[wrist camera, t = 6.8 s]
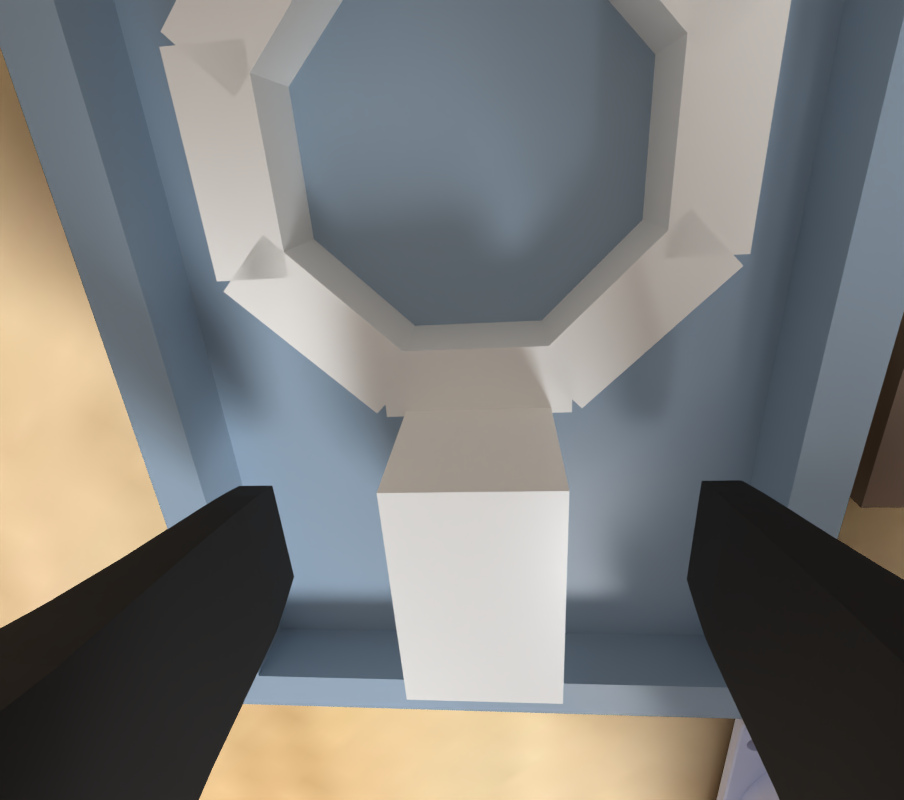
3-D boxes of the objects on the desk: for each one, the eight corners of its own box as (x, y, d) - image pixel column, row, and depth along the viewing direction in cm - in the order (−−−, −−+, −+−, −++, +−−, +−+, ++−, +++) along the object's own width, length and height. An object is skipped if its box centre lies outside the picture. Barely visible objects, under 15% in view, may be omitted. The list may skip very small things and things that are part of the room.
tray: (746, 645, 14) (784, 720, 12) (261, 637, 15) (228, 703, 13) (1062, -752, 5) (1345, -1206, 4) (-70, -511, 7) (-281, -759, 5)
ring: (672, 538, 12) (752, 708, 8) (313, 539, 13) (239, 695, 9) (772, -221, 7) (1092, -659, 3) (168, -140, 8) (-133, -417, 4)
